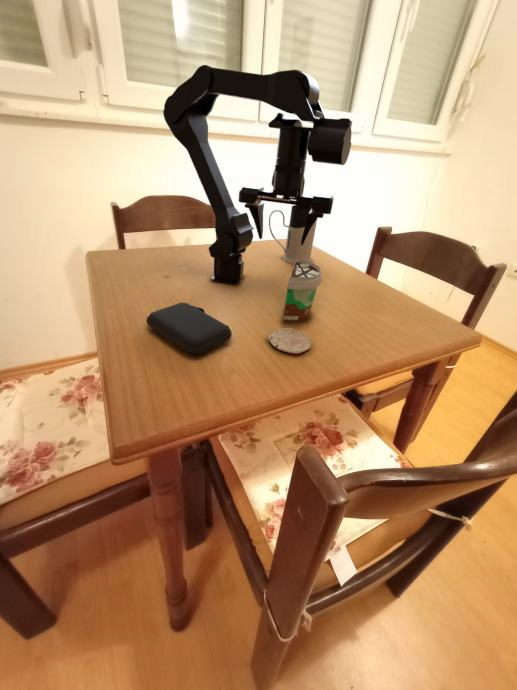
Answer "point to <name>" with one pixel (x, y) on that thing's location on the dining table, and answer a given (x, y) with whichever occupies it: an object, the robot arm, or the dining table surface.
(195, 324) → the carrying case
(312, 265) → the food container
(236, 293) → the dining table surface
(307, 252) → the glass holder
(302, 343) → the flatbread
